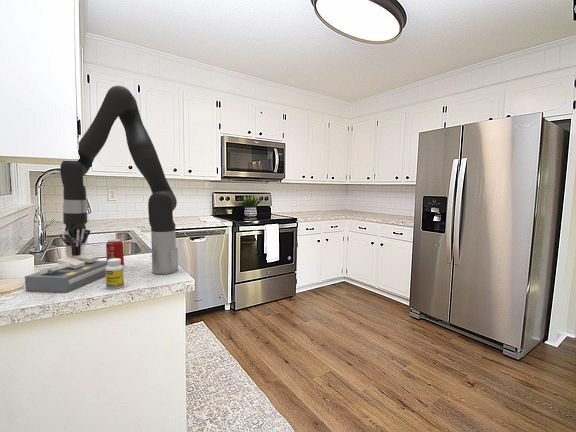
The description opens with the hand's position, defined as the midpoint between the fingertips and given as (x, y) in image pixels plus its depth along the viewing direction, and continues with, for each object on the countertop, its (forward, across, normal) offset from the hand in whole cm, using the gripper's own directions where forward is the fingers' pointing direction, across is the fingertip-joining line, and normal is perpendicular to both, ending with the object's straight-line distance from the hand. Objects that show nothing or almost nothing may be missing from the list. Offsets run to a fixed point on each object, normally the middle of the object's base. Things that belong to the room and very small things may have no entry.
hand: (76, 255), depth 114 cm
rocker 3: (+2, 0, -3) cm, 4 cm away
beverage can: (+8, +12, -8) cm, 16 cm away
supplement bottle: (+7, -11, -23) cm, 26 cm away
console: (+8, -7, -4) cm, 11 cm away
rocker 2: (+2, -7, -3) cm, 8 cm away
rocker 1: (+2, -14, -4) cm, 15 cm away
